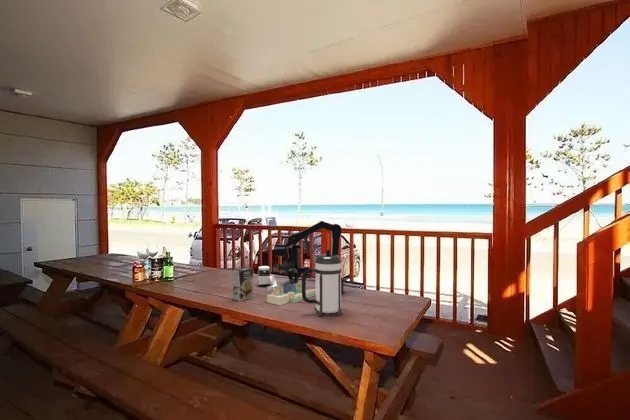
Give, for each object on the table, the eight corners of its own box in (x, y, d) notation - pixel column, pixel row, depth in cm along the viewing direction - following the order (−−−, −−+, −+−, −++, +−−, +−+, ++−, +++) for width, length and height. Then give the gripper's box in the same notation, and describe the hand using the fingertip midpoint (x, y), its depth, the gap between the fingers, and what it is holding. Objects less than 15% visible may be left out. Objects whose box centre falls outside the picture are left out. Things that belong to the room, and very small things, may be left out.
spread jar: (257, 284, 211) (256, 266, 211) (274, 282, 214) (274, 264, 214) (259, 288, 200) (259, 269, 199) (277, 287, 203) (277, 268, 203)
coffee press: (323, 305, 166) (323, 246, 165) (350, 311, 156) (350, 248, 155) (300, 314, 152) (300, 250, 152) (328, 322, 142) (328, 253, 142)
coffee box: (240, 301, 173) (240, 271, 173) (232, 299, 177) (232, 269, 177) (253, 297, 180) (253, 268, 180) (245, 295, 184) (245, 266, 184)
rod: (305, 289, 187) (305, 279, 186) (275, 299, 167) (275, 287, 167) (294, 287, 191) (294, 277, 191) (264, 297, 172) (264, 285, 172)
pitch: (317, 294, 186) (317, 285, 186) (284, 306, 164) (284, 296, 164) (295, 290, 195) (295, 281, 195) (262, 301, 173) (262, 291, 173)
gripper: (271, 256, 187) (271, 283, 187) (296, 259, 176) (296, 288, 176) (284, 253, 196) (284, 279, 196) (309, 256, 185) (309, 284, 185)
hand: (293, 283), depth 188 cm, fingers closed on rod, 3 cm apart
